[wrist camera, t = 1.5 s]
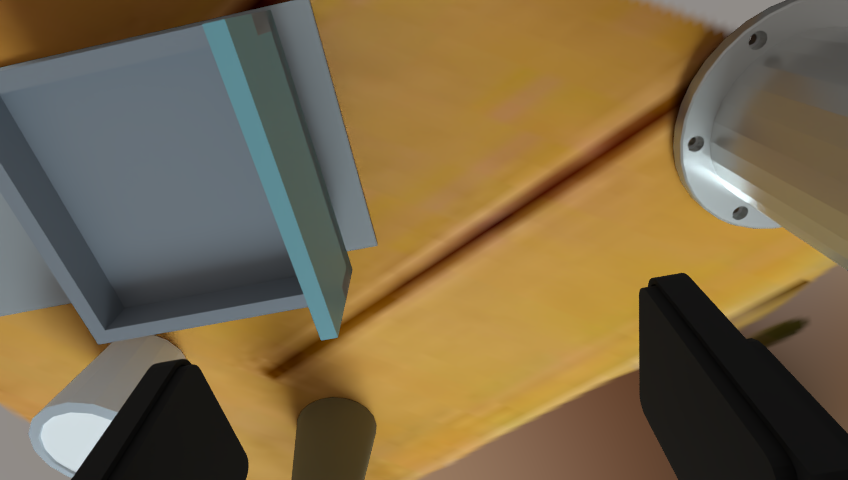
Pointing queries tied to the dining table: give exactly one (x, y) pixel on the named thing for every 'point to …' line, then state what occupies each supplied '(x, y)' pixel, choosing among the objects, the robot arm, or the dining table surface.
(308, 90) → the track
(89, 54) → the cart
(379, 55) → the dining table surface
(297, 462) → the olive pepper shaker
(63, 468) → the white tapered cup
